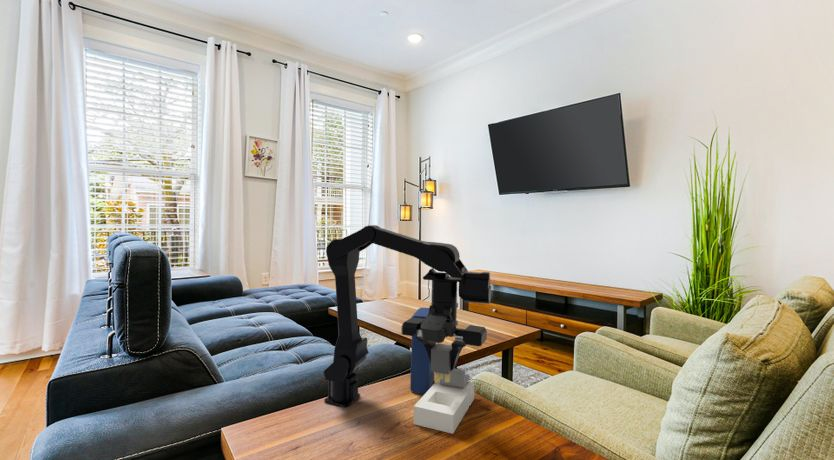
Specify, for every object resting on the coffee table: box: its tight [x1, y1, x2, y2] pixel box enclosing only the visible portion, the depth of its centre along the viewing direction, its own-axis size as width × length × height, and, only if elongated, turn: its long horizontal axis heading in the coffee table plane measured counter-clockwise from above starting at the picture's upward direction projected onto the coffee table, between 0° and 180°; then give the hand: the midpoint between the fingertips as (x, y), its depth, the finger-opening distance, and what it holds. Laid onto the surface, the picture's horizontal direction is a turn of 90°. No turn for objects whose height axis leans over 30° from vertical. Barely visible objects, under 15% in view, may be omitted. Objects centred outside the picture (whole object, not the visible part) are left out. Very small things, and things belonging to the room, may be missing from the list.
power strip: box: [413, 381, 475, 434], centre depth 91 cm, size 9×17×4 cm, turn 157°
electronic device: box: [409, 307, 435, 395], centre depth 104 cm, size 10×5×20 cm, turn 168°
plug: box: [431, 343, 452, 383], centre depth 88 cm, size 4×4×8 cm
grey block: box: [440, 367, 471, 388], centre depth 97 cm, size 6×6×4 cm
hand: (442, 368), depth 89 cm, fingers closed on plug, 4 cm apart
